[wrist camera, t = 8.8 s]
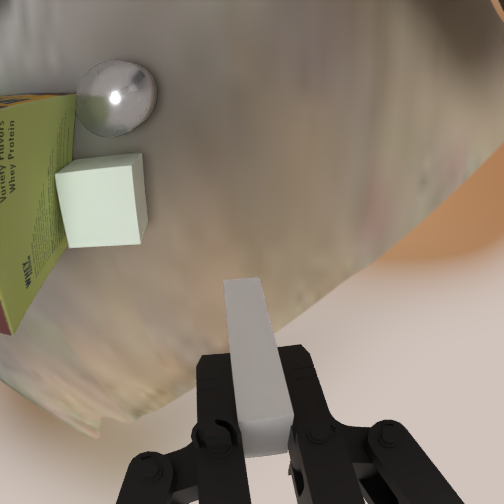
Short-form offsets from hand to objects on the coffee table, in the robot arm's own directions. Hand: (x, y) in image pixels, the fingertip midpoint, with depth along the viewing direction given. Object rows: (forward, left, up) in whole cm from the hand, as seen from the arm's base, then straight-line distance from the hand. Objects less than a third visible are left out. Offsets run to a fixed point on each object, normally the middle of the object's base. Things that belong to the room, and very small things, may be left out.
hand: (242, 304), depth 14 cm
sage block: (0, -11, -19) cm, 22 cm away
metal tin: (-9, -8, -19) cm, 22 cm away
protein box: (-4, -19, -19) cm, 27 cm away
